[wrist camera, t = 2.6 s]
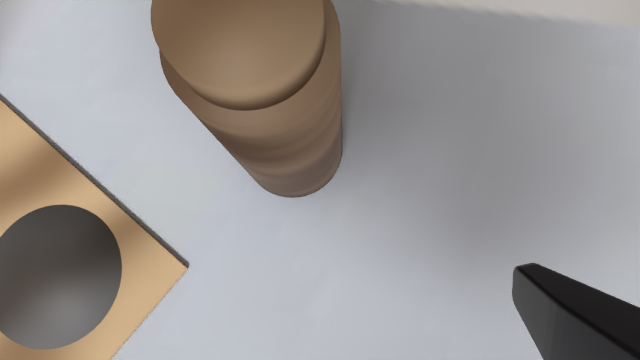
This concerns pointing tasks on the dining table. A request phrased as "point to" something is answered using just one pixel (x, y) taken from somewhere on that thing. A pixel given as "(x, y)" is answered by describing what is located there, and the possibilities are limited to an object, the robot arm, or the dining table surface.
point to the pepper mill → (260, 83)
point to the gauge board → (68, 257)
